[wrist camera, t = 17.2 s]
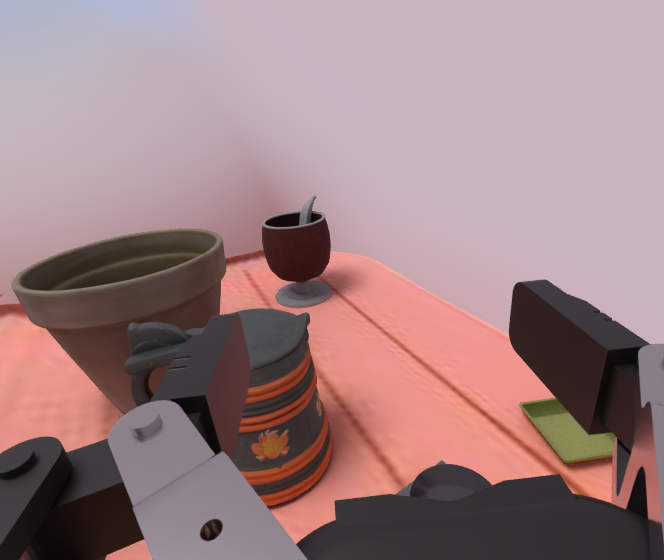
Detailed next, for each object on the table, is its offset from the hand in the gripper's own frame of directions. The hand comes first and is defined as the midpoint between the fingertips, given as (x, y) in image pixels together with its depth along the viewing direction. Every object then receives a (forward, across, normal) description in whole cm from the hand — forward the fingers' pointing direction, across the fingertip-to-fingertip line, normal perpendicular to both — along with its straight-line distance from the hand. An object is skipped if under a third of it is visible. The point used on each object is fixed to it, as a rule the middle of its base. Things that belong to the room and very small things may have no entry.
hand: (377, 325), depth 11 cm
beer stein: (+23, +12, +30) cm, 40 cm away
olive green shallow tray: (+22, -24, +31) cm, 45 cm away
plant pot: (+40, +28, +30) cm, 57 cm away
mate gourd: (+67, +6, +30) cm, 74 cm away
